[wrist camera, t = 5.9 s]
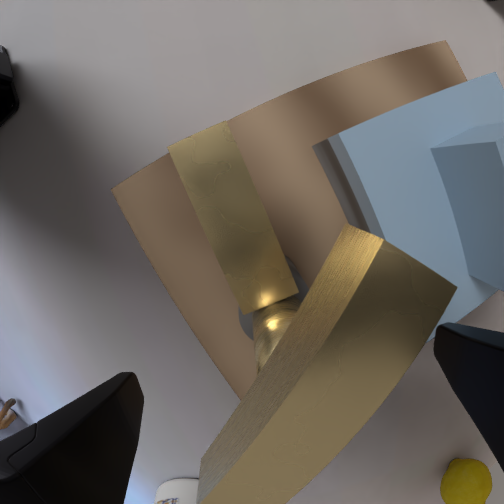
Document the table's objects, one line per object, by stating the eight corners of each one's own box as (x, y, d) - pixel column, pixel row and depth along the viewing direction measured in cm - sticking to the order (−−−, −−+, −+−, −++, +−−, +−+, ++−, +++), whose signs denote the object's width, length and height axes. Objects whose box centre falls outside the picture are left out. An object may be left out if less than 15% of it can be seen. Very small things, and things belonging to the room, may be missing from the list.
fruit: (423, 470, 23) (453, 523, 15) (467, 437, 22) (503, 485, 14) (436, 483, 24) (462, 529, 16) (475, 454, 23) (506, 497, 15)
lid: (406, 333, 14) (465, 393, 9) (327, 138, 12) (384, 111, 7) (527, 242, 13) (593, 264, 8) (478, 77, 11) (549, 55, 6)
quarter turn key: (387, 345, 12) (463, 439, 6) (226, 409, 13) (221, 528, 7) (299, 98, 10) (362, 15, 4) (108, 184, 10) (-10, 194, 4)
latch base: (253, 407, 19) (256, 468, 14) (117, 188, 16) (67, 193, 11) (511, 255, 18) (561, 274, 12) (437, 44, 15) (486, 16, 9)
